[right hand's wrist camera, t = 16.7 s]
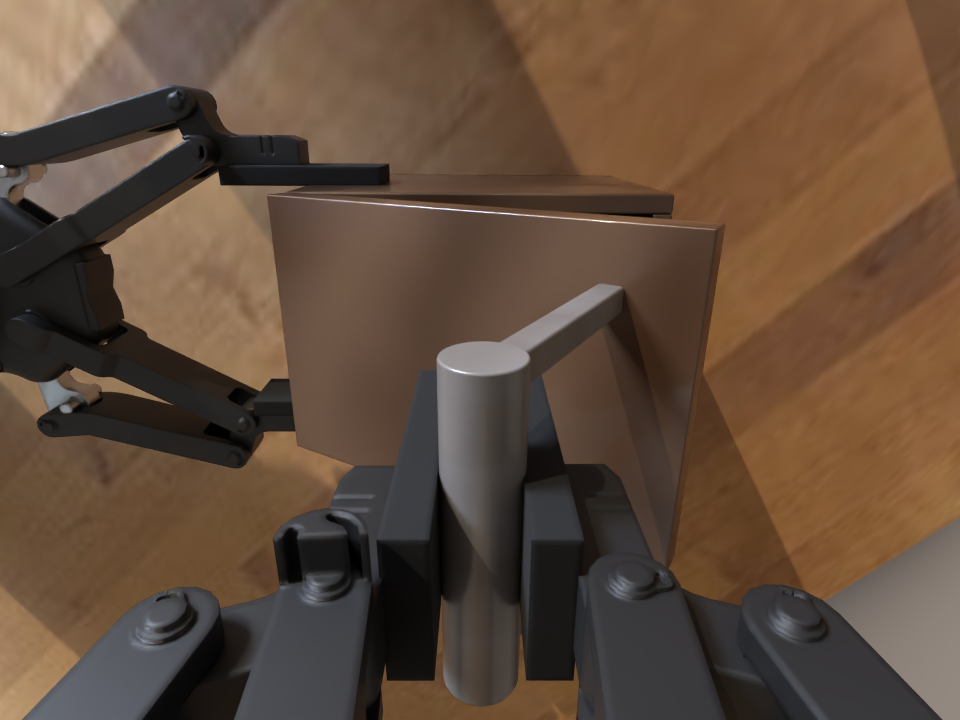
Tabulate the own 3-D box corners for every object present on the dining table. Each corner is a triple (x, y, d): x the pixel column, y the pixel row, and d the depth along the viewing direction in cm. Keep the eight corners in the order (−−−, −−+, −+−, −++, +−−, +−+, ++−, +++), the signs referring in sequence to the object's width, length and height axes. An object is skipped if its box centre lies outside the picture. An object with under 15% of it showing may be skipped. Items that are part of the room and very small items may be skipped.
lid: (726, 222, 14) (616, 301, 7) (674, 554, 17) (568, 816, 11) (291, 192, 21) (26, 217, 14) (316, 434, 24) (115, 547, 17)
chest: (610, 175, 31) (675, 194, 21) (596, 347, 34) (645, 434, 24) (346, 174, 31) (284, 191, 21) (359, 346, 34) (310, 433, 24)
